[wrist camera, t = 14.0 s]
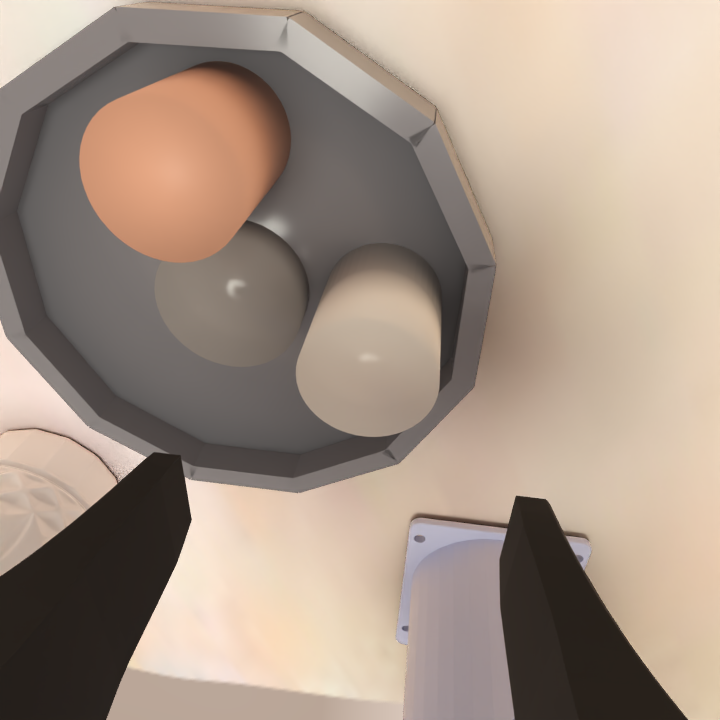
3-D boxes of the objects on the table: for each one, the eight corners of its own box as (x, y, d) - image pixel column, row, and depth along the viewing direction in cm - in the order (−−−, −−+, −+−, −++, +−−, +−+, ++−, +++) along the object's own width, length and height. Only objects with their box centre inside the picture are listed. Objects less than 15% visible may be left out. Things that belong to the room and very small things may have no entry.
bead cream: (435, 351, 22) (431, 444, 18) (325, 340, 22) (296, 428, 18) (448, 248, 20) (448, 326, 15) (326, 238, 20) (294, 311, 16)
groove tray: (451, 476, 26) (451, 511, 24) (72, 431, 27) (48, 462, 26) (530, 24, 16) (539, 31, 15) (-58, -11, 18) (-110, -7, 16)
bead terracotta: (292, 202, 19) (249, 269, 15) (172, 192, 20) (98, 255, 16) (289, 65, 17) (238, 100, 13) (153, 56, 18) (61, 88, 13)
